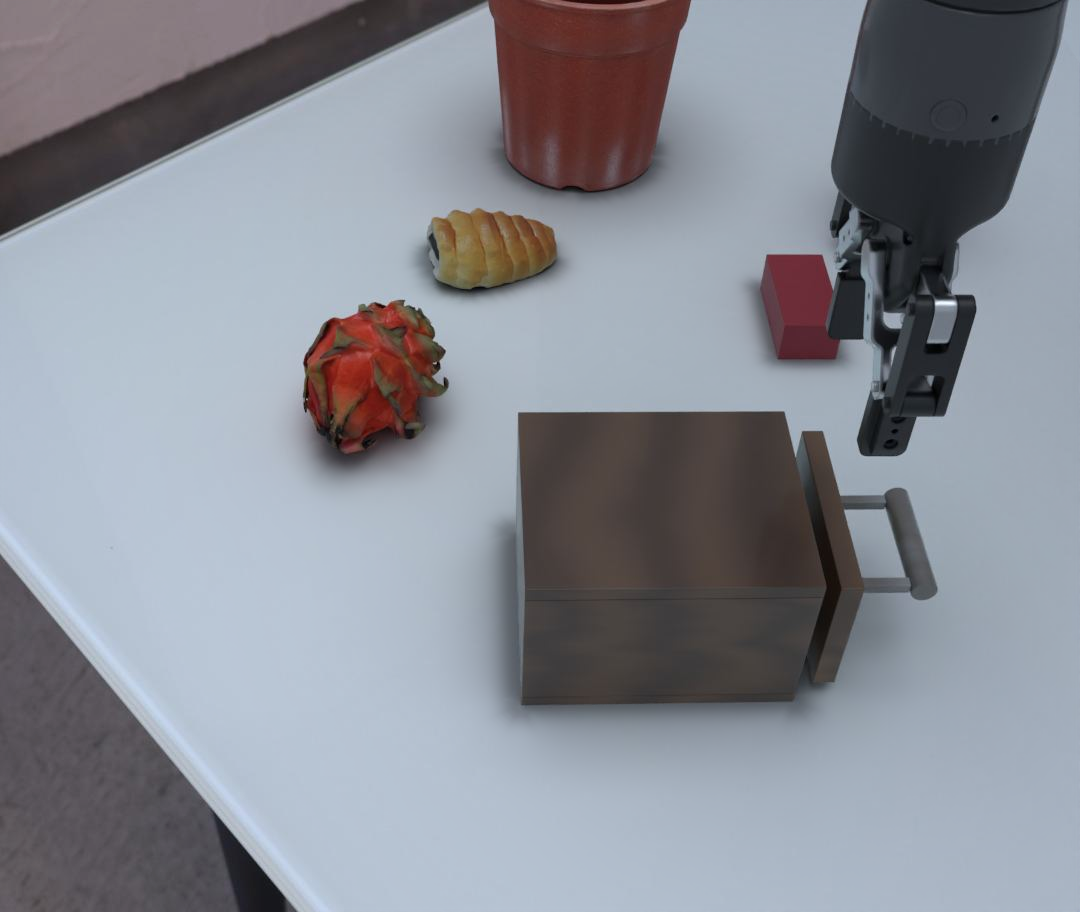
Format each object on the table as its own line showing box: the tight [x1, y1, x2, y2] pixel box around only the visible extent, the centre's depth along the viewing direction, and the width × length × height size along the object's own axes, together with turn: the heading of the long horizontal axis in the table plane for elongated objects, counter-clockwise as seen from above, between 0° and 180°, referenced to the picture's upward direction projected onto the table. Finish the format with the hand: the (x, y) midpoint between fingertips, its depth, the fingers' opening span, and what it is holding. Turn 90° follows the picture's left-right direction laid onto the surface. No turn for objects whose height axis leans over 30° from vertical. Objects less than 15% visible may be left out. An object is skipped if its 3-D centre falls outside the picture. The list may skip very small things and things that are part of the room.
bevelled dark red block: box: [759, 253, 841, 360], centre depth 91 cm, size 4×8×3 cm, turn 2°
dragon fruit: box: [302, 299, 450, 455], centre depth 82 cm, size 8×8×12 cm
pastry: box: [426, 207, 558, 290], centre depth 95 cm, size 9×7×4 cm
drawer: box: [795, 430, 939, 684], centre depth 71 cm, size 18×11×8 cm, turn 92°
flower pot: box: [487, 0, 692, 192], centre depth 100 cm, size 16×16×16 cm
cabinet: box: [514, 410, 827, 706], centre depth 71 cm, size 15×13×10 cm
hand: (862, 390), depth 64 cm, fingers open, 8 cm apart
